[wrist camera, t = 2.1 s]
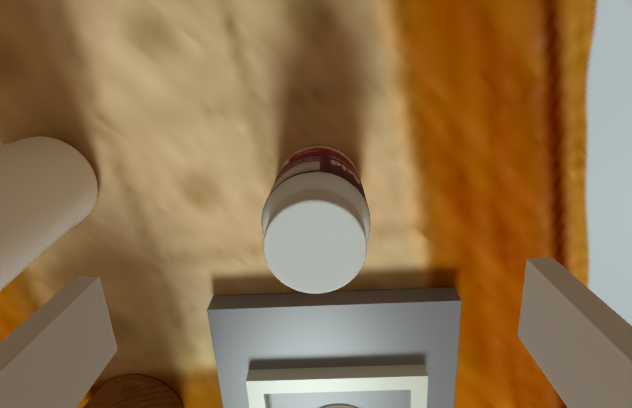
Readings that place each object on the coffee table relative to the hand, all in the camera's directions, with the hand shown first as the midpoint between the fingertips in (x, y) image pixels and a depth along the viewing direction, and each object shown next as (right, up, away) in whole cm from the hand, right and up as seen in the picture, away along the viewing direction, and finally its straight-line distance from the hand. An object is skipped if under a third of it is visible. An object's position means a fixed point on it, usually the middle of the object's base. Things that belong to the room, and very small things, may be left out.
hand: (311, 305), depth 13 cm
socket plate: (+2, -12, +16) cm, 20 cm away
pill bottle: (0, +4, +11) cm, 12 cm away
